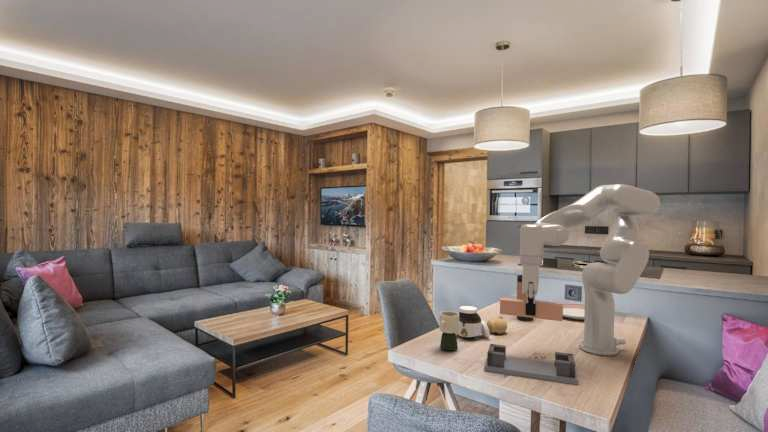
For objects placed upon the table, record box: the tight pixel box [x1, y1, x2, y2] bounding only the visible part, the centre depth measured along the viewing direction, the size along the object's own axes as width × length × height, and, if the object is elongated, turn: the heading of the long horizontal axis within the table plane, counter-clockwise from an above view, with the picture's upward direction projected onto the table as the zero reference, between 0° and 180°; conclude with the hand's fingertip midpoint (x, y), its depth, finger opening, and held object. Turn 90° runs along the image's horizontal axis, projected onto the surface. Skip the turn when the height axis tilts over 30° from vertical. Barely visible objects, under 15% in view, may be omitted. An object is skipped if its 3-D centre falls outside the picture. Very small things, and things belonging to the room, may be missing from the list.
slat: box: [499, 297, 564, 322], centre depth 136 cm, size 20×4×5 cm, turn 69°
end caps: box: [486, 343, 576, 378], centre depth 124 cm, size 25×9×4 cm, turn 69°
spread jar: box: [456, 305, 491, 341], centre depth 157 cm, size 12×11×12 cm
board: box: [483, 356, 580, 386], centre depth 124 cm, size 27×11×2 cm, turn 69°
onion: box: [486, 314, 508, 335], centre depth 163 cm, size 8×8×7 cm
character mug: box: [438, 310, 459, 351], centre depth 143 cm, size 11×7×13 cm, turn 141°
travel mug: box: [516, 274, 534, 322], centre depth 183 cm, size 8×8×20 cm
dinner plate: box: [557, 302, 585, 321], centre depth 192 cm, size 28×27×3 cm
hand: (530, 313), depth 136 cm, fingers closed on slat, 3 cm apart
